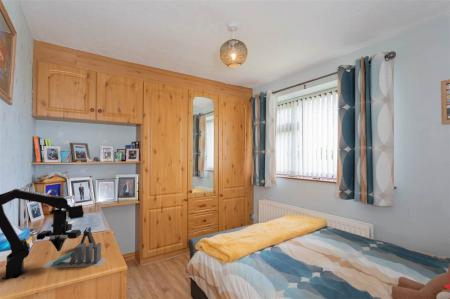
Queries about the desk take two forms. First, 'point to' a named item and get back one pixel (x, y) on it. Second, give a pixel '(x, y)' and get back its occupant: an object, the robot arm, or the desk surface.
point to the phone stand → (90, 237)
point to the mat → (66, 264)
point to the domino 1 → (63, 258)
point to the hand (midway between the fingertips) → (59, 251)
